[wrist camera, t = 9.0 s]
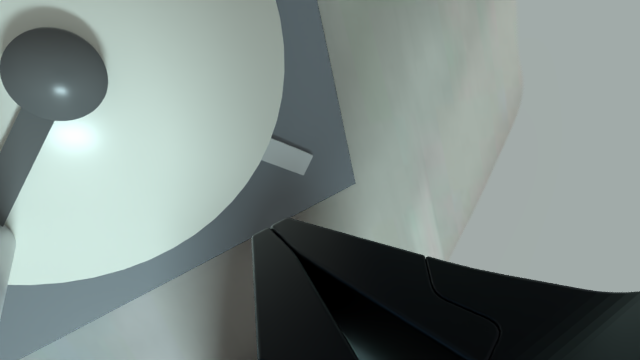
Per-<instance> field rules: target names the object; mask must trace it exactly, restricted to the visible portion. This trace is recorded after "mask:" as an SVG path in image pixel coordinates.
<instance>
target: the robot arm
mask: <svg viewBox="0 0 640 360" xmlns="http://www.w3.org/2000/svg"><path fill="white" fill-rule="evenodd" d="M251 240H252V260H253V279H254V298H255V318H256V337H257V356H258V360H640V292H628V293H627V292H626V293H622V292H621V293H620V292H619V293H618V292H617V293H616V292H615V293H614V292H600V291H593V290H585V289H580V288H574V287H569V286H563V285H558V284H553V283H547V282H542V281H536V280H531V279H526V278H520V277H514V276H509V275H504V274H499V273H494V272H489V271H484V270H479V269H474V268H470V267H467V266H462V265H459V264H455V263H451V262H447V261H443V260H439V259H436V258H432V257H426V259H425V256H424V255H421V254H417V253H414V252H410V251H406V250H403V249H399V248H396V247H392V246H388V245H385V244H381V243H378V242H374V241H370V240H367V239H363V238H360V237H356V236H352V235H349V234H345V233H342V232H338V231H334V230H331V229H327V228H324V227H320V226H316V225H313V224H309V223H306V222H302V221H298V220H295V219H291V218H285V219H283V220H281V221H279V222H277V223H275V224H273V225H272V226H271V229H270V228H266V229H264V230H262V231H260V232H258V233H256V234H254V235H253V236H252V238H251Z"/></svg>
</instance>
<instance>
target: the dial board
mask: <svg viewBox="0 0 640 360" xmlns="http://www.w3.org/2000/svg"><path fill="white" fill-rule="evenodd" d="M276 3H277V7H278V11H279V15H280V20H281V28H282V35H283V42H284V71H285V72H284V82H283V93H282V100H281V104H280V109H279V114H278V118H277V122H276V125H275V128H274V131H273V134H272V136H271V139H270V142H269V145H268V147H267V149H266V151H265V153H264V155H263V157H262V159H261V161H260V163H259V165H258V167H257V168H256V170H255V171H254V173H253V174H252V176H251V178H250V179H249V181H248V182H247V184H246V185H245V186H244V188H243V189H242V190H241V191H240V193H239V194H238V195H237V196H236V197H235V199H234V200H233V201H232V202H231V203H230V204H229V205H228V206H227V207H226V208H225V209H224V210H223V211H222V212H221V213H220V214H219V215H218V216H217V217H216V218H215V219H214V220H213V221H211V222H210V223H209V224H208V225H206V226H205V227H204V228H203V229H201V230H200V231H199V232H198V233H196V234H195V235H193V236H192V237H190V238H189V239H187V240H185V241H184V242H182V243H181V244H179V245H177V246H176V247H174V248H173V249H170V250H168V251H166V252H164V253H162V254H160V255H158V256H156V257H154V258H152V259H150V260H148V261H145V262H142V263H140V264H137V265H134V266H132V267H129V268H126V269H124V270H120V271H117V272H113V273H109V274H105V275H102V276H98V277H94V278H88V279H82V280H76V281H70V282H65V283H52V284H39V285H8V286H7V290H6V295H5V300H4V304H3V309H2V313H1V318H0V360H19V359H21V358H23V357H25V356H27V355H29V354H31V353H33V352H35V351H37V350H38V349H40V348H42V347H44V346H46V345H48V344H50V343H52V342H54V341H56V340H58V339H59V338H61V337H63V336H65V335H67V334H69V333H71V332H73V331H75V330H77V329H78V328H80V327H82V326H84V325H86V324H88V323H90V322H92V321H94V320H96V319H98V318H99V317H101V316H103V315H105V314H107V313H109V312H111V311H113V310H115V309H117V308H119V307H120V306H122V305H124V304H126V303H128V302H130V301H132V300H134V299H136V298H138V297H140V296H141V295H143V294H145V293H147V292H149V291H151V290H153V289H155V288H157V287H159V286H161V285H162V284H164V283H166V282H168V281H170V280H172V279H174V278H176V277H178V276H180V275H182V274H183V273H185V272H187V271H189V270H191V269H193V268H195V267H197V266H199V265H201V264H203V263H204V262H206V261H208V260H210V259H212V258H214V257H216V256H218V255H220V254H222V253H224V252H225V251H227V250H229V249H231V248H233V247H235V246H237V245H239V244H241V243H243V242H245V241H246V240H248V239H250V238H252V236H253V235H254V234H256V233H258V232H260V231H262V230H264V229H266V228H271V226H272V225H273V224H275V223H277V222H279V221H281V220H283V219H285V218H290V217H292V216H294V215H296V214H298V213H300V212H302V211H304V210H306V209H307V208H309V207H311V206H313V205H315V204H317V203H319V202H321V201H323V200H325V199H327V198H328V197H330V196H332V195H334V194H336V193H338V192H340V191H342V190H344V189H346V188H348V187H349V186H351V185H353V184H355V179H354V174H353V169H352V164H351V160H350V155H349V150H348V145H347V141H346V136H345V131H344V126H343V122H342V117H341V112H340V107H339V103H338V98H337V93H336V88H335V84H334V79H333V74H332V69H331V65H330V60H329V55H328V50H327V46H326V41H325V36H324V31H323V27H322V22H321V17H320V12H319V8H318V3H317V0H276Z"/></svg>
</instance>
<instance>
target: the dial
mask: <svg viewBox="0 0 640 360" xmlns="http://www.w3.org/2000/svg"><path fill="white" fill-rule="evenodd" d="M284 72H285V71H284V42H283V35H282V28H281V20H280V15H279V11H278V7H277V3H276V0H0V318H1V313H2V309H3V304H4V300H5V295H6V290H7V286H8V285H39V284H52V283H65V282H70V281H76V280H82V279H88V278H94V277H98V276H102V275H105V274H109V273H113V272H117V271H120V270H124V269H126V268H129V267H132V266H134V265H137V264H140V263H142V262H145V261H148V260H150V259H152V258H154V257H156V256H158V255H160V254H162V253H164V252H166V251H168V250H170V249H173V248H174V247H176V246H177V245H179V244H181V243H182V242H184V241H185V240H187V239H189V238H190V237H192V236H193V235H195V234H196V233H198V232H199V231H200V230H201V229H203V228H204V227H205V226H206V225H208V224H209V223H210V222H211V221H213V220H214V219H215V218H216V217H217V216H218V215H219V214H220V213H221V212H222V211H223V210H224V209H225V208H226V207H227V206H228V205H229V204H230V203H231V202H232V201H233V200H234V199H235V197H236V196H237V195H238V194H239V193H240V191H241V190H242V189H243V188H244V186H245V185H246V184H247V182H248V181H249V179H250V178H251V176H252V174H253V173H254V171H255V170H256V168H257V167H258V165H259V163H260V161H261V159H262V157H263V155H264V153H265V151H266V149H267V147H268V145H269V142H270V139H271V136H272V134H273V131H274V128H275V125H276V122H277V118H278V114H279V109H280V104H281V100H282V93H283V82H284Z"/></svg>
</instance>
